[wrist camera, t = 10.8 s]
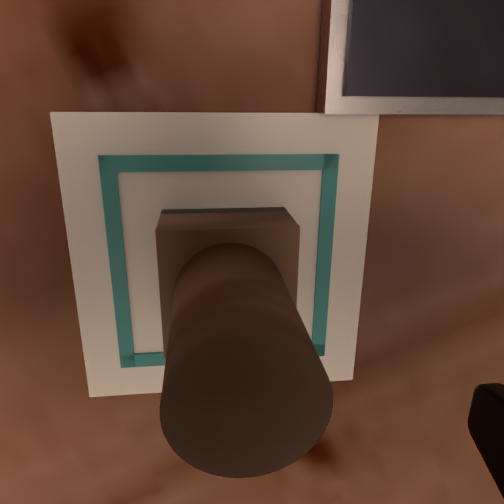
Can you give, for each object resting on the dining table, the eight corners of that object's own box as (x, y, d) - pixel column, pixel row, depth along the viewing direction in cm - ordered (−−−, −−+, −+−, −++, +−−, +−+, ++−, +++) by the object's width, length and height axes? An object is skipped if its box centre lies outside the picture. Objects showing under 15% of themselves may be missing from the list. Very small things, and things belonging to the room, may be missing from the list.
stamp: (284, 206, 15) (363, 307, 8) (280, 314, 16) (344, 483, 9) (162, 209, 14) (127, 319, 7) (168, 320, 15) (145, 502, 8)
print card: (377, 113, 14) (380, 113, 14) (351, 376, 17) (353, 381, 17) (52, 111, 13) (48, 112, 13) (90, 393, 16) (88, 399, 16)
